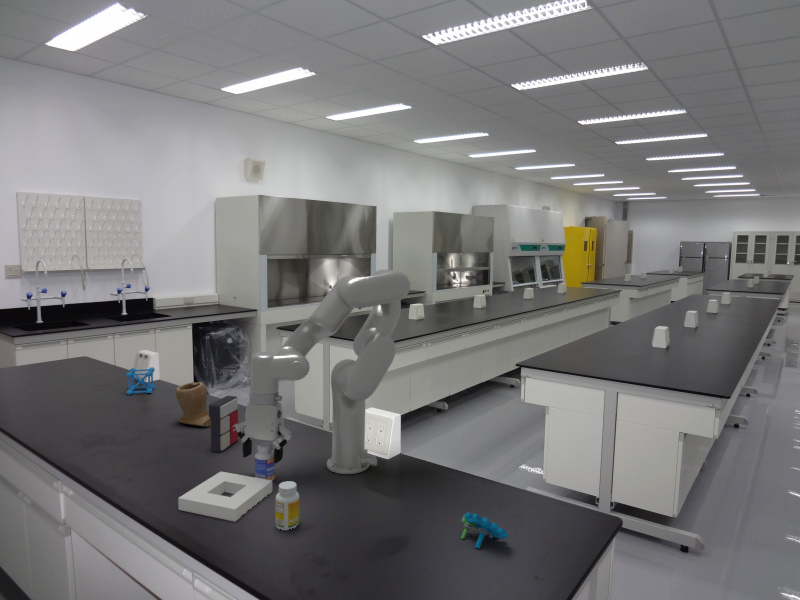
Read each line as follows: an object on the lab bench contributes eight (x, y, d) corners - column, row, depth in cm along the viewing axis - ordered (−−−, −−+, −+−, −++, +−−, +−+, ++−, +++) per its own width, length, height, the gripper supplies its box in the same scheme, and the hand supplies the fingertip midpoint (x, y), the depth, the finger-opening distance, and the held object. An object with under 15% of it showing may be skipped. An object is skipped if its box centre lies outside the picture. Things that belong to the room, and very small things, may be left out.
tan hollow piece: (168, 425, 182) (168, 384, 181) (195, 416, 193) (194, 377, 192) (200, 432, 176) (199, 390, 175) (225, 422, 187) (225, 382, 185)
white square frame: (272, 491, 134) (272, 480, 134) (235, 521, 119) (234, 509, 119) (220, 482, 139) (220, 471, 139) (178, 509, 124) (178, 497, 124)
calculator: (221, 453, 159) (221, 406, 157) (209, 451, 160) (208, 404, 158) (239, 440, 170) (239, 396, 168) (227, 439, 170) (227, 395, 169)
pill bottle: (269, 484, 139) (269, 449, 138) (251, 481, 140) (251, 447, 139) (278, 475, 144) (278, 442, 143) (260, 473, 145) (260, 440, 144)
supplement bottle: (273, 531, 115) (273, 490, 115) (277, 519, 121) (277, 479, 120) (298, 530, 116) (298, 489, 115) (300, 518, 121) (300, 479, 120)
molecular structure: (130, 389, 227) (130, 367, 226) (155, 388, 230) (155, 366, 229) (126, 396, 217) (125, 372, 216) (152, 394, 220) (151, 371, 219)
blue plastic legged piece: (517, 538, 112) (495, 516, 107) (507, 564, 109) (484, 544, 104) (477, 524, 120) (455, 504, 115) (466, 549, 117) (443, 529, 112)
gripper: (299, 398, 141) (297, 458, 142) (245, 390, 146) (243, 449, 147) (285, 405, 133) (283, 469, 135) (228, 397, 139) (227, 458, 140)
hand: (262, 458), depth 141 cm, fingers open, 9 cm apart
